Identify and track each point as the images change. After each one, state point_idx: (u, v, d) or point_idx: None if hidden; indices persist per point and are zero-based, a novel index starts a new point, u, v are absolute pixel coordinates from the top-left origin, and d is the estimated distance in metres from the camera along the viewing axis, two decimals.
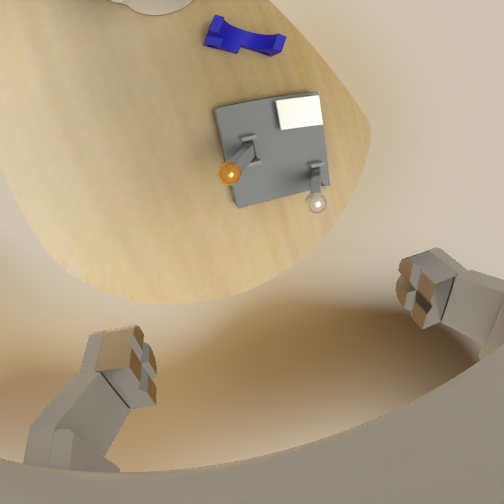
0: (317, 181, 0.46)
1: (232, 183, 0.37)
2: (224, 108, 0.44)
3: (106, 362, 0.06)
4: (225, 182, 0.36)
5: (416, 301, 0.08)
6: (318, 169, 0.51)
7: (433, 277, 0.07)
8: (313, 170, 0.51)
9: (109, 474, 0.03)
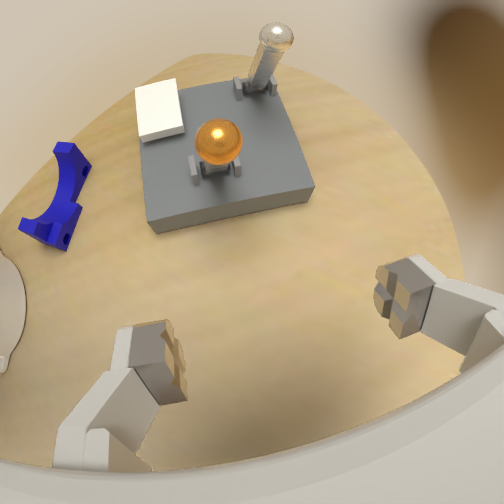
0: (253, 64, 0.27)
1: (236, 129, 0.17)
2: (148, 209, 0.30)
3: (138, 358, 0.06)
4: (233, 140, 0.17)
5: (393, 310, 0.08)
6: (244, 82, 0.33)
7: (409, 286, 0.07)
8: (247, 88, 0.33)
9: (109, 474, 0.03)
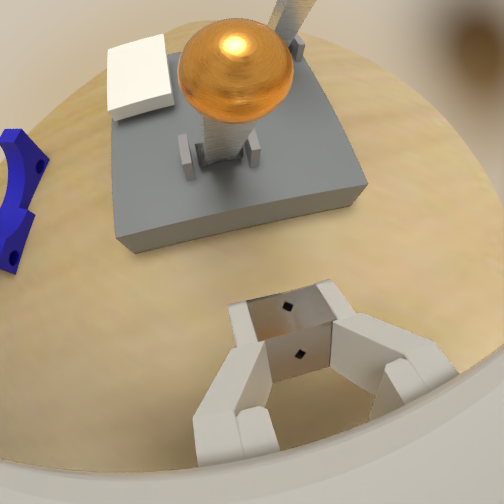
0: (276, 7, 0.16)
1: (280, 39, 0.06)
2: (117, 218, 0.19)
3: (267, 330, 0.07)
4: (276, 58, 0.06)
5: None
6: None
7: (301, 321, 0.07)
8: None
9: (109, 474, 0.03)
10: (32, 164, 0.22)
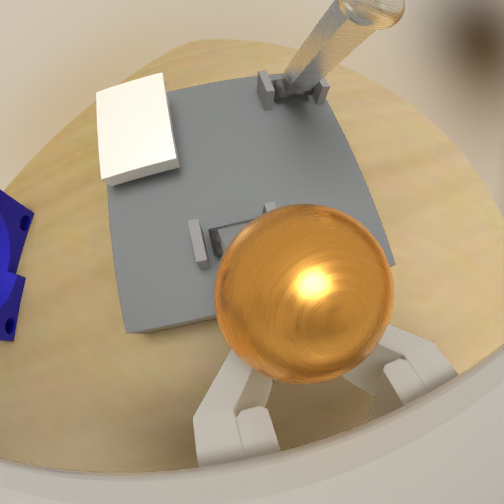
0: (304, 49, 0.14)
1: (385, 264, 0.04)
2: (125, 310, 0.17)
3: None
4: (382, 325, 0.04)
5: None
6: (277, 80, 0.20)
7: None
8: (281, 90, 0.20)
9: (109, 474, 0.03)
10: (15, 223, 0.20)
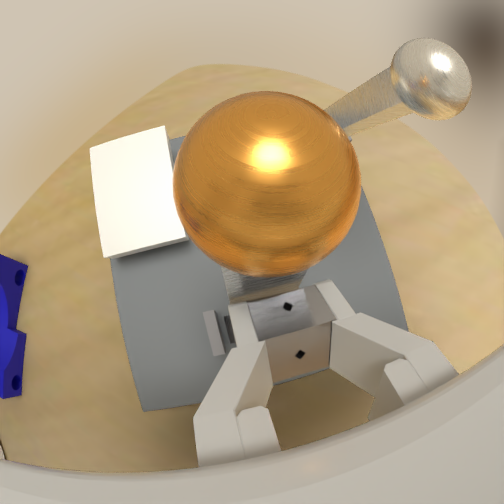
0: (332, 111, 0.13)
1: None
2: (140, 390, 0.16)
3: (268, 330, 0.07)
4: (335, 139, 0.04)
5: None
6: None
7: (300, 321, 0.07)
8: None
9: (109, 474, 0.03)
10: (10, 279, 0.19)
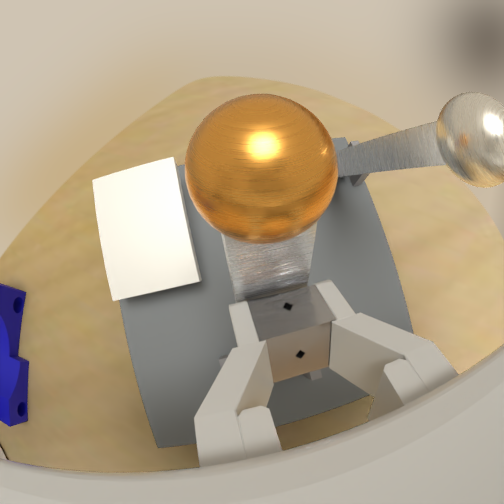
0: (359, 151, 0.13)
1: None
2: (155, 428, 0.15)
3: (268, 330, 0.07)
4: (305, 115, 0.05)
5: None
6: None
7: (300, 321, 0.07)
8: None
9: (109, 474, 0.03)
10: (9, 308, 0.18)
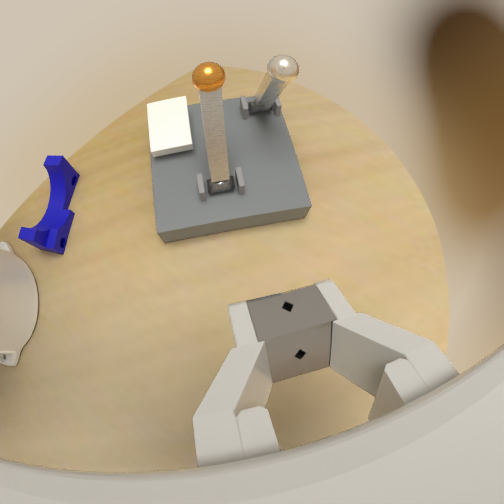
0: (260, 88, 0.30)
1: (219, 65, 0.23)
2: (158, 221, 0.33)
3: (267, 330, 0.07)
4: (216, 64, 0.22)
5: None
6: (250, 102, 0.36)
7: (301, 321, 0.07)
8: (252, 108, 0.36)
9: (109, 474, 0.03)
10: (69, 179, 0.36)
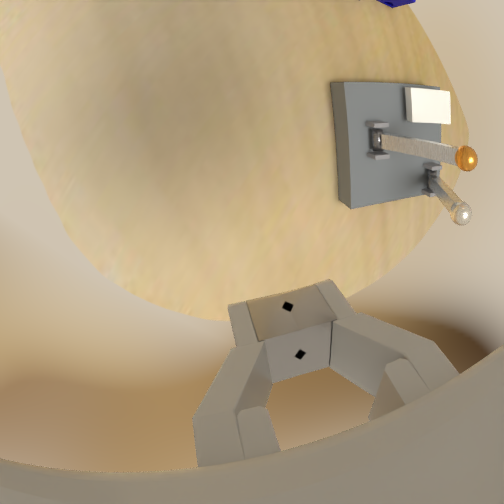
0: (447, 187, 0.35)
1: None
2: (353, 83, 0.32)
3: (267, 331, 0.07)
4: (474, 167, 0.26)
5: None
6: (436, 173, 0.39)
7: (301, 321, 0.07)
8: (431, 173, 0.39)
9: (109, 474, 0.03)
10: (391, 1, 0.28)
